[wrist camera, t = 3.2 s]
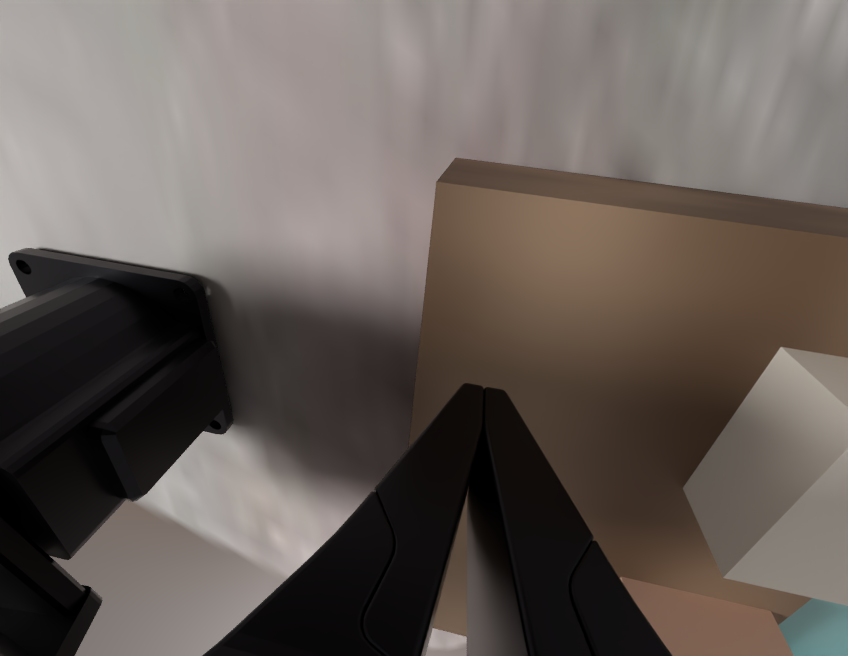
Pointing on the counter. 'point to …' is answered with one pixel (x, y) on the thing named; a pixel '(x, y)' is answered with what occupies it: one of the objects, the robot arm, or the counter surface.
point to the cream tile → (782, 481)
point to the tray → (817, 629)
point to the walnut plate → (622, 342)
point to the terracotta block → (707, 623)
